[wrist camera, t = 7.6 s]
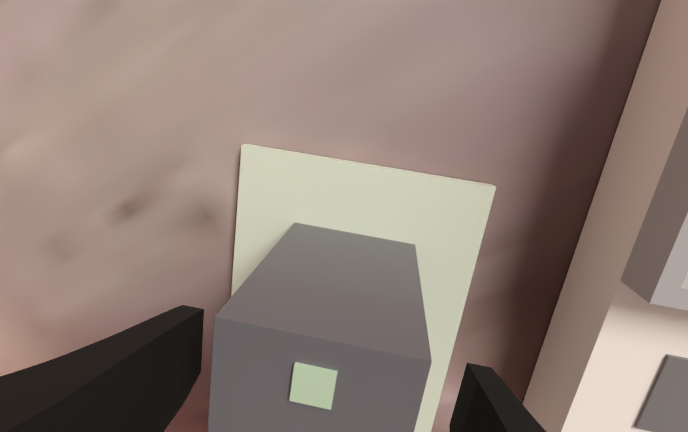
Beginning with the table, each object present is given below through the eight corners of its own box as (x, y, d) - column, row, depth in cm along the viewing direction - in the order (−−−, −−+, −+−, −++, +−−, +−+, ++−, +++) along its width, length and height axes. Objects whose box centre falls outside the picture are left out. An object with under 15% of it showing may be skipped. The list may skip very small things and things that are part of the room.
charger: (387, 372, 14) (381, 563, 8) (279, 350, 14) (200, 518, 8) (414, 244, 13) (432, 365, 7) (294, 222, 13) (212, 319, 7)
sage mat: (426, 435, 15) (427, 444, 15) (228, 392, 16) (224, 399, 15) (492, 184, 12) (496, 187, 12) (246, 143, 13) (241, 144, 12)
